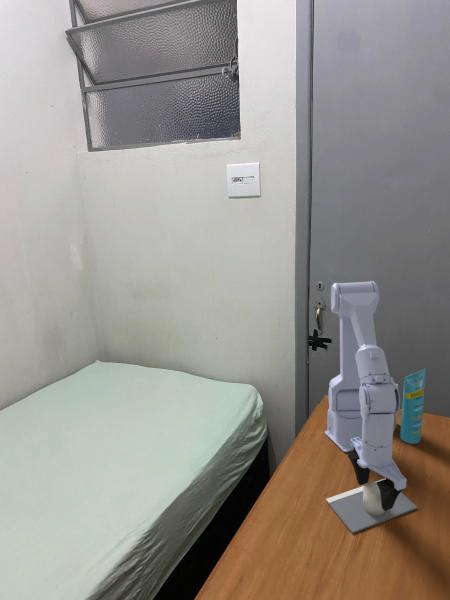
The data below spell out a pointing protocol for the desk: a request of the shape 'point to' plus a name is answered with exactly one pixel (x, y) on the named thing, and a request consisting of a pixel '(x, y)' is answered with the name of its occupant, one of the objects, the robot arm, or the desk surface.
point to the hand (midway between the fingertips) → (374, 495)
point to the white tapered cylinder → (372, 499)
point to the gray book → (356, 516)
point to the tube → (412, 407)
